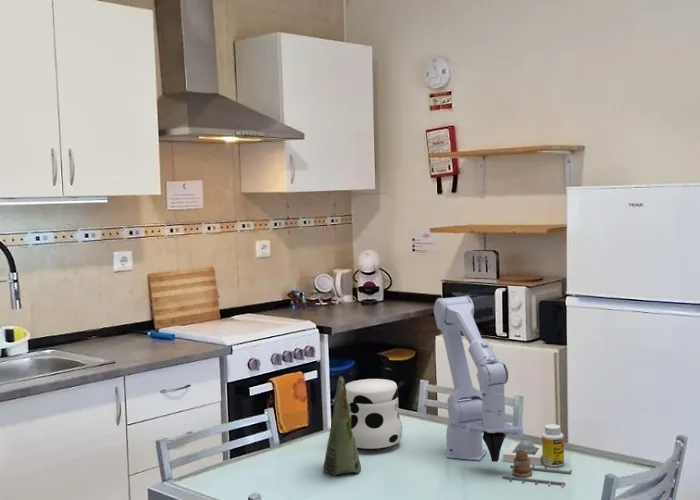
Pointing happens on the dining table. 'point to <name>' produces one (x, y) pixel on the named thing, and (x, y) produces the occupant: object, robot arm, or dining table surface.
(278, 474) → the dining table surface
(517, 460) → the pawn
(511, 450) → the housing
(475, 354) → the robot arm
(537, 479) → the track
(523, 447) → the dome
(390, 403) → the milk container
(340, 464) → the green tall cone
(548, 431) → the supplement bottle
